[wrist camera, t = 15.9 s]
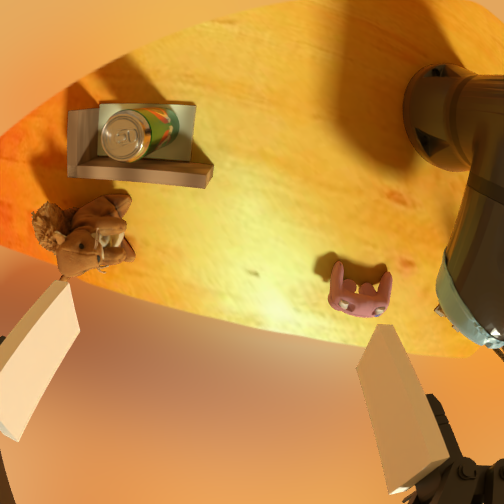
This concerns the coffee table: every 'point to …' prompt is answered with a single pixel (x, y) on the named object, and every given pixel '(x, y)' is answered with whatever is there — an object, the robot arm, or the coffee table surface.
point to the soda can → (138, 132)
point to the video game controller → (358, 295)
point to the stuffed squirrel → (85, 234)
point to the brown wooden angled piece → (143, 170)
